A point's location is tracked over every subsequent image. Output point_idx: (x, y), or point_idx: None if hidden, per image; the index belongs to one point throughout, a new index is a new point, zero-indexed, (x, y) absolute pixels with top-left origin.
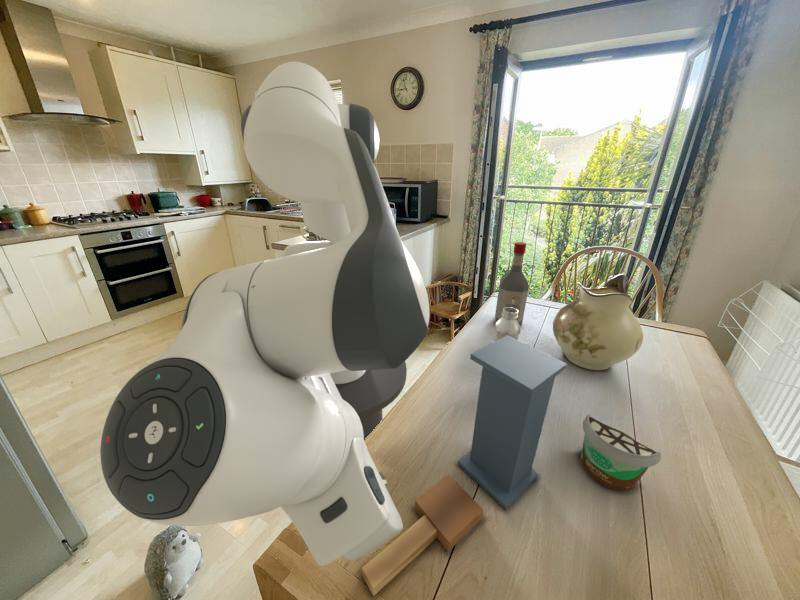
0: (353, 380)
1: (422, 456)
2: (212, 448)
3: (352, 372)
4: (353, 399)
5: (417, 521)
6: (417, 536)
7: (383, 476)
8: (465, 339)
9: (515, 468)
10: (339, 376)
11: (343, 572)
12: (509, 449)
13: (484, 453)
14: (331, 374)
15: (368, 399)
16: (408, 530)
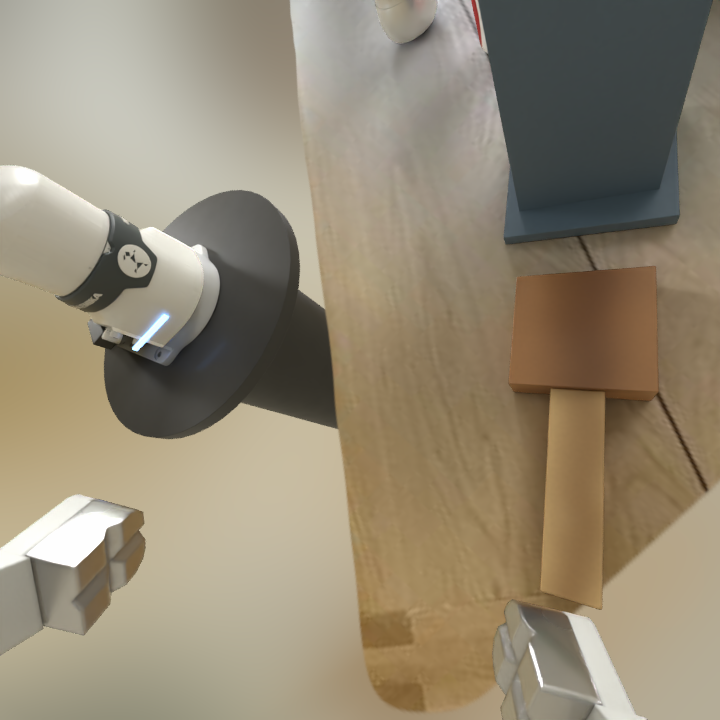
0: (215, 302)
1: (433, 296)
2: None
3: (198, 294)
4: (243, 328)
5: (551, 413)
6: (581, 439)
7: (555, 628)
8: (304, 50)
9: (681, 108)
10: (188, 320)
11: None
12: (657, 65)
13: (558, 164)
14: (174, 331)
15: (263, 304)
16: (552, 444)
